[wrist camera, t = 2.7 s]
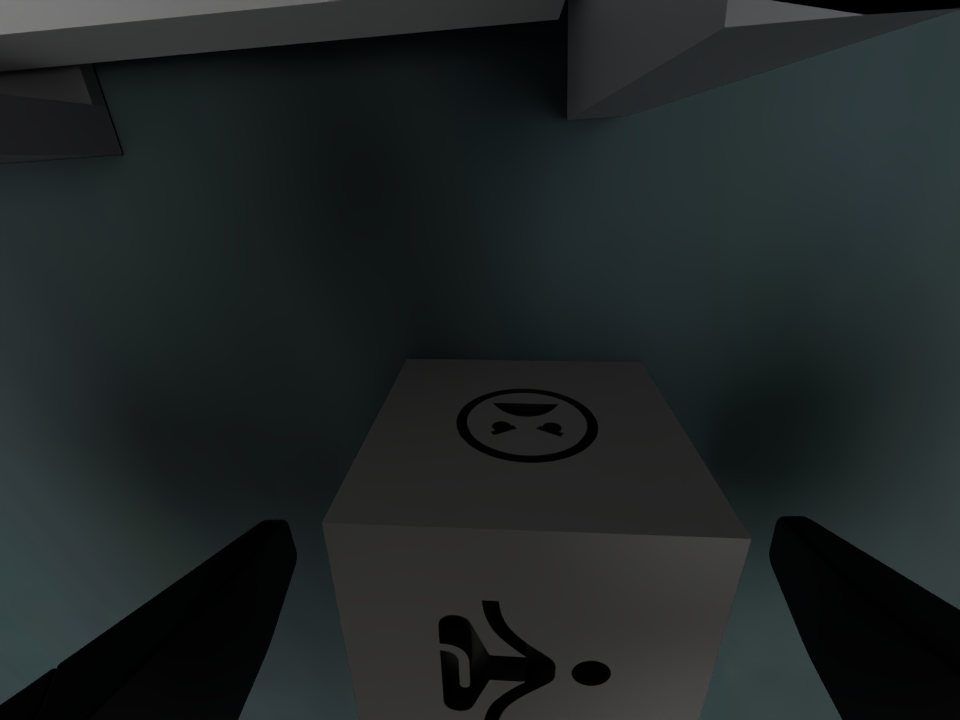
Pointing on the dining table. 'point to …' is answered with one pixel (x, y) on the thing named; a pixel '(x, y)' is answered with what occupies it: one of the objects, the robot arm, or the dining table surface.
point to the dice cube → (531, 548)
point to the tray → (475, 3)
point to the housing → (54, 115)
